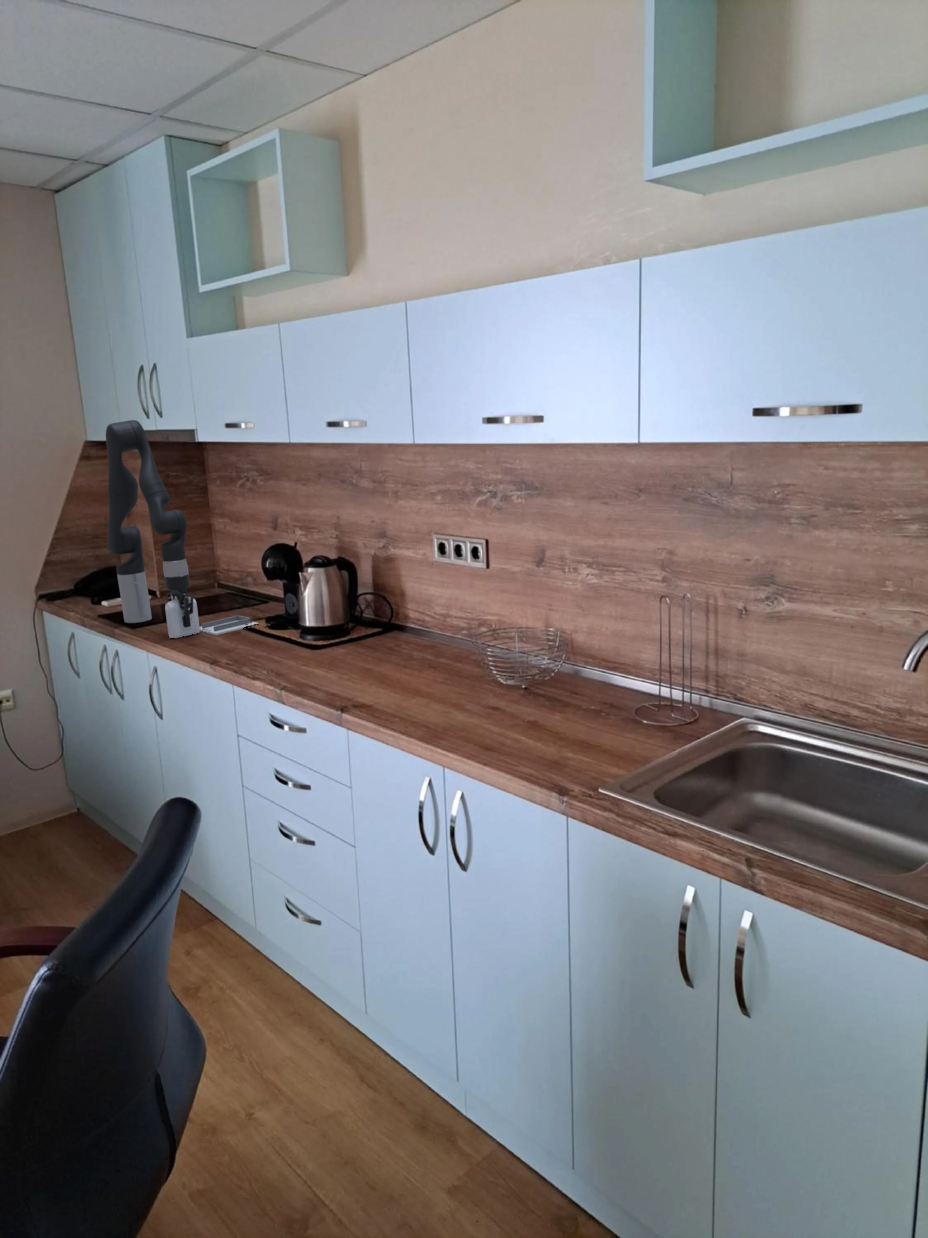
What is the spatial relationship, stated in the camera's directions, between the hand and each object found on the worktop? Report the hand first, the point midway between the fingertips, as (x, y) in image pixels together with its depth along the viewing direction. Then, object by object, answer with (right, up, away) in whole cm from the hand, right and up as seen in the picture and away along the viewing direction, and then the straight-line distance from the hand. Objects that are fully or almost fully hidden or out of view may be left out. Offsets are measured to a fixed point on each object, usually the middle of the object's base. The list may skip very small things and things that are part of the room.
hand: (183, 625), depth 290 cm
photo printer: (0, -3, +1) cm, 4 cm away
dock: (+12, -1, +9) cm, 15 cm away
